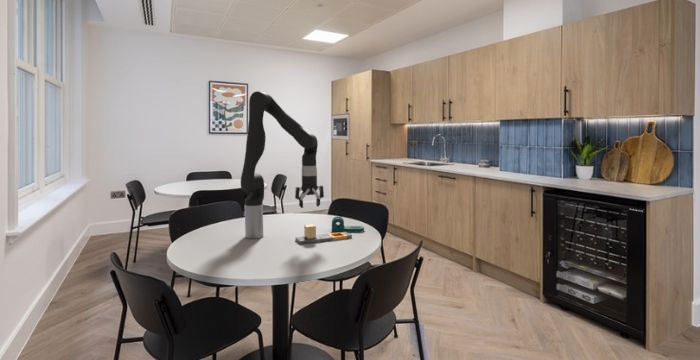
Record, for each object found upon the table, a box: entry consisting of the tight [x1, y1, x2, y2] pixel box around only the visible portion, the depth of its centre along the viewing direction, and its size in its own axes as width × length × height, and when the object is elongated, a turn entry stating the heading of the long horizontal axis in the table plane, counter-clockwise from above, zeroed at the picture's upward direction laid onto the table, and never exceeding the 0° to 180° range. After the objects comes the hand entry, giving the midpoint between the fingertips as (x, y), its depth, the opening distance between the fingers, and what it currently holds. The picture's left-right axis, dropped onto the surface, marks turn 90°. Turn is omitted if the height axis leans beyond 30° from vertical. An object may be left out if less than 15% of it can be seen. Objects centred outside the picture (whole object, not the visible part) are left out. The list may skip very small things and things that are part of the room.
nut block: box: [303, 223, 317, 240], centre depth 198 cm, size 4×4×8 cm
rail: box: [294, 232, 353, 245], centre depth 202 cm, size 8×28×2 cm, turn 116°
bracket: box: [331, 215, 365, 233], centre depth 220 cm, size 18×7×8 cm, turn 91°
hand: (309, 206), depth 197 cm, fingers open, 8 cm apart
